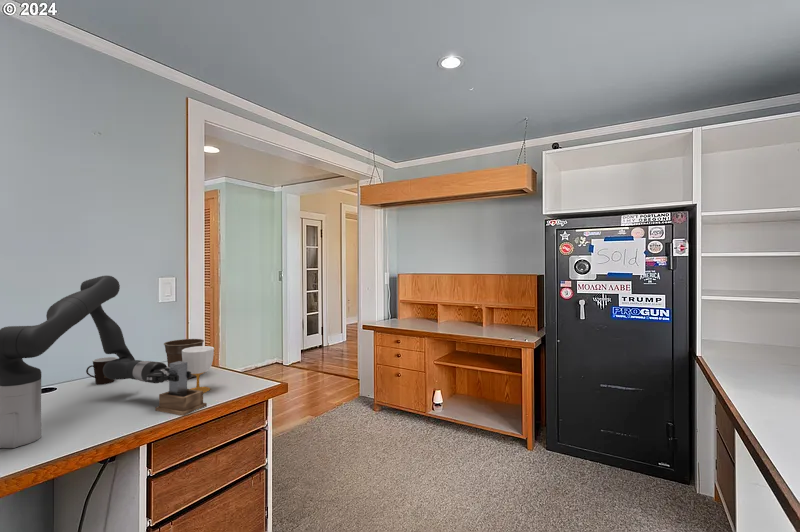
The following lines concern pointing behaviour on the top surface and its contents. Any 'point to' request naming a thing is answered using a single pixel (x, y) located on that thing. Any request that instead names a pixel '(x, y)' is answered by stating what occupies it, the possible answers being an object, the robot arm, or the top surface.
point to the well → (181, 402)
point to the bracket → (181, 385)
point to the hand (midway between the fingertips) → (184, 376)
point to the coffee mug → (100, 370)
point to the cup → (198, 362)
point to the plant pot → (180, 349)
